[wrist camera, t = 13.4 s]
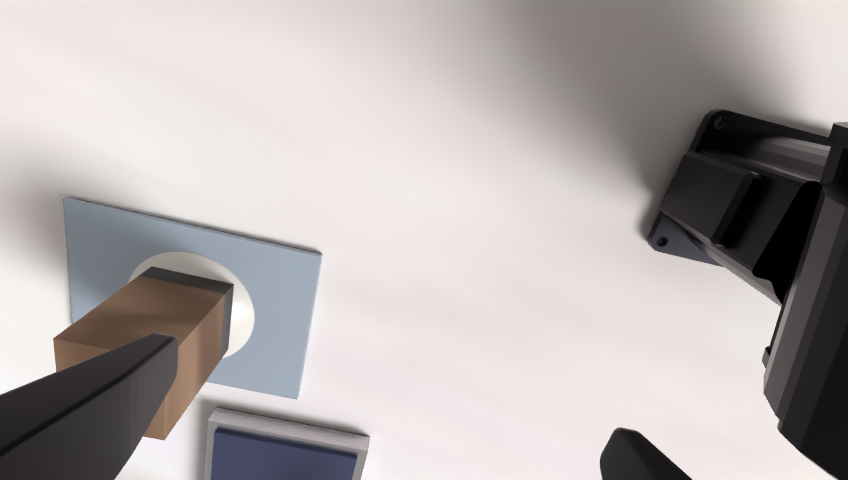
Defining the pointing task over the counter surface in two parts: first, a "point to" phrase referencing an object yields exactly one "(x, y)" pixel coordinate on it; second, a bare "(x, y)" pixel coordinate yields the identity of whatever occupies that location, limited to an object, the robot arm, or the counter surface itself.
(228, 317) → the stamp
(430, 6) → the counter surface
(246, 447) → the tray
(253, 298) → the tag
